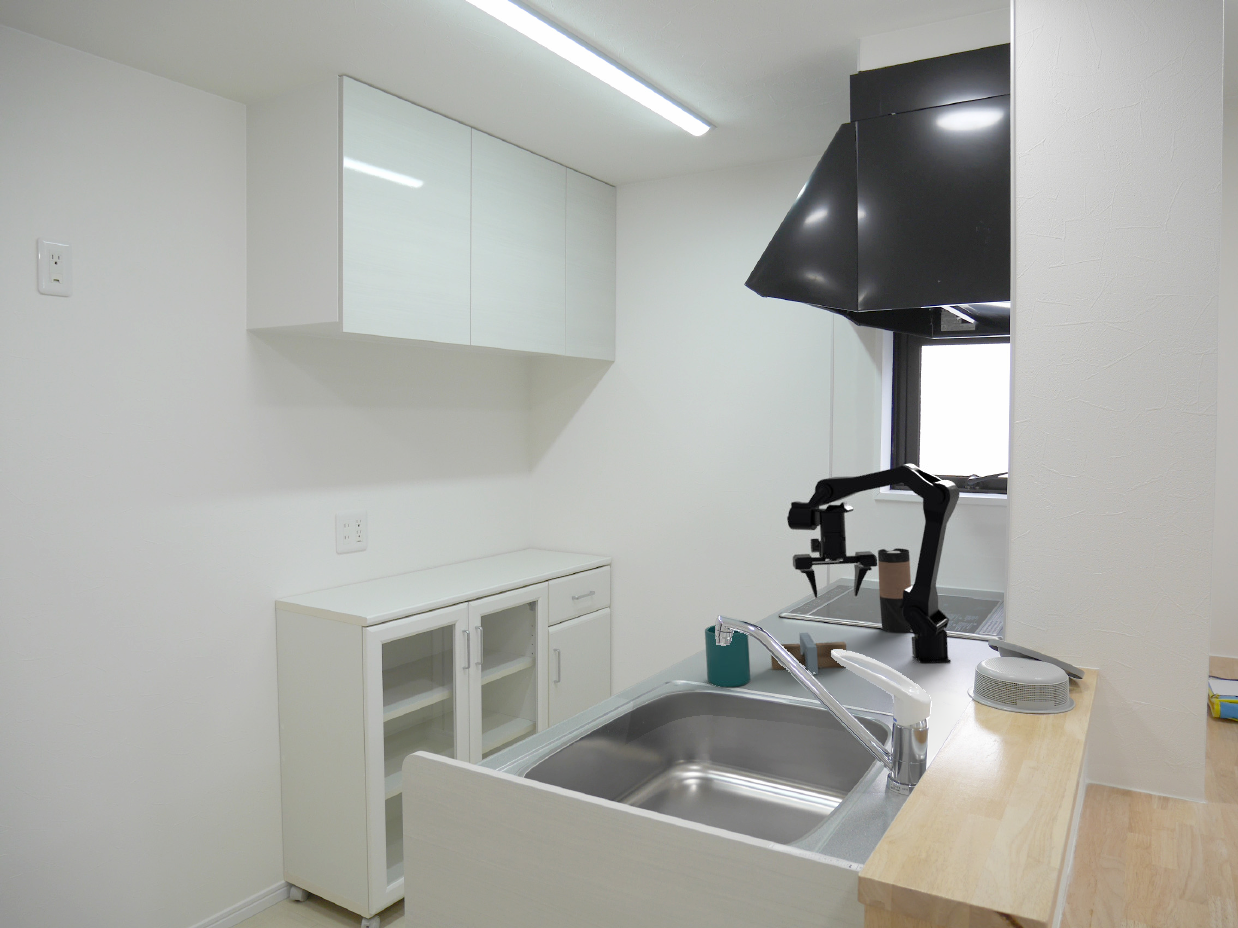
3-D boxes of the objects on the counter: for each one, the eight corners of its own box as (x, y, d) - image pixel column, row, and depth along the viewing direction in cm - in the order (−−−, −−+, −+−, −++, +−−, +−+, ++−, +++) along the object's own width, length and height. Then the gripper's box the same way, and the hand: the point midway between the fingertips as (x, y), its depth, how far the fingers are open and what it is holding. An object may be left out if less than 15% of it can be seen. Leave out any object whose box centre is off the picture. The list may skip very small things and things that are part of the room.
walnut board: (845, 664, 180) (844, 641, 180) (847, 667, 178) (845, 644, 178) (771, 666, 182) (770, 644, 181) (772, 669, 180) (771, 646, 179)
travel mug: (902, 634, 201) (899, 553, 200) (875, 630, 207) (871, 551, 206) (918, 628, 206) (915, 549, 205) (891, 624, 212) (887, 547, 211)
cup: (765, 674, 176) (762, 623, 176) (736, 691, 167) (733, 636, 167) (729, 669, 182) (726, 619, 182) (699, 684, 173) (696, 631, 172)
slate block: (818, 674, 174) (816, 646, 174) (808, 675, 174) (807, 647, 174) (809, 658, 186) (808, 632, 186) (800, 658, 186) (799, 632, 186)
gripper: (865, 524, 200) (868, 588, 201) (788, 528, 202) (791, 591, 202) (876, 530, 189) (879, 597, 190) (794, 534, 191) (797, 601, 191)
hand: (835, 596), depth 194 cm, fingers open, 9 cm apart
